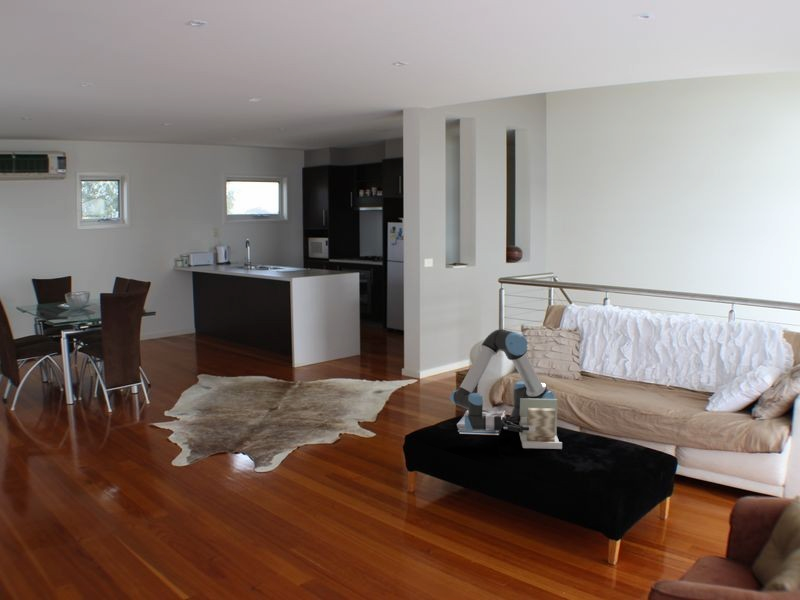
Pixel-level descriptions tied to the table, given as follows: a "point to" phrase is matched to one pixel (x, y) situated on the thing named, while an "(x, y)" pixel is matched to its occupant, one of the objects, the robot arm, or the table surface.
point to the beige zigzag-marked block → (541, 422)
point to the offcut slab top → (545, 439)
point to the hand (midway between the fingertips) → (534, 424)
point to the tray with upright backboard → (524, 405)
